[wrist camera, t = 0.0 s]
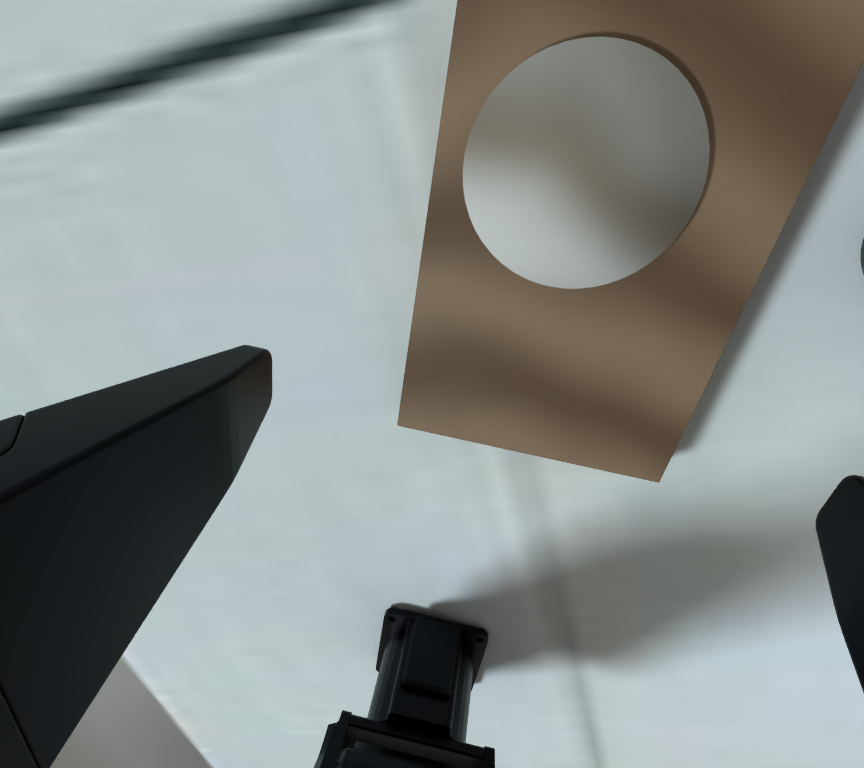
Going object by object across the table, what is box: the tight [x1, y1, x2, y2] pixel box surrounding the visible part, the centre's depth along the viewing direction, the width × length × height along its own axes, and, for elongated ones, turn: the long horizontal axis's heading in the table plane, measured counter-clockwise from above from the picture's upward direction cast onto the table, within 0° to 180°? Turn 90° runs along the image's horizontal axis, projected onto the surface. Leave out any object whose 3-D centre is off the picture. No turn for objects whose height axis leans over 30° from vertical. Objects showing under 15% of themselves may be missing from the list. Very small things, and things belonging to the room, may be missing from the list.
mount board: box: [397, 0, 864, 482], centre depth 21 cm, size 18×12×2 cm, turn 172°
